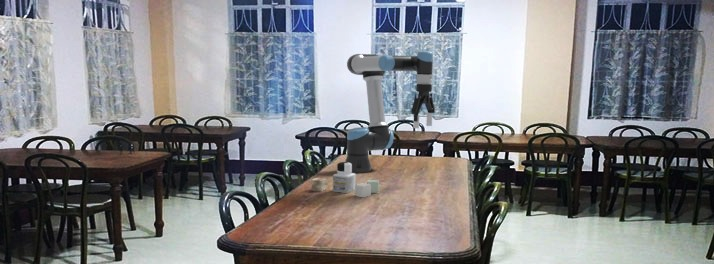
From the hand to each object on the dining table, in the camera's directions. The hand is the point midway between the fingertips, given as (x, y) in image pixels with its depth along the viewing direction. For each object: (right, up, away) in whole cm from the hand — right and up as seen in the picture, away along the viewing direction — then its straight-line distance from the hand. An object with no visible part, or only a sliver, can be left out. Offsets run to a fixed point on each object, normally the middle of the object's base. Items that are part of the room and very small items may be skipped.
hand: (422, 127), depth 257 cm
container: (-38, -29, -19) cm, 52 cm away
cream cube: (-30, -30, -28) cm, 51 cm away
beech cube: (-50, -29, -18) cm, 60 cm away
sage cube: (-25, -30, -21) cm, 44 cm away
